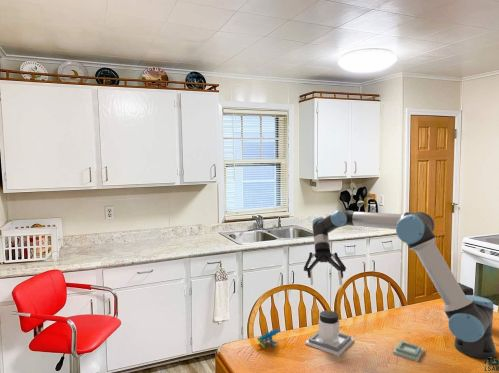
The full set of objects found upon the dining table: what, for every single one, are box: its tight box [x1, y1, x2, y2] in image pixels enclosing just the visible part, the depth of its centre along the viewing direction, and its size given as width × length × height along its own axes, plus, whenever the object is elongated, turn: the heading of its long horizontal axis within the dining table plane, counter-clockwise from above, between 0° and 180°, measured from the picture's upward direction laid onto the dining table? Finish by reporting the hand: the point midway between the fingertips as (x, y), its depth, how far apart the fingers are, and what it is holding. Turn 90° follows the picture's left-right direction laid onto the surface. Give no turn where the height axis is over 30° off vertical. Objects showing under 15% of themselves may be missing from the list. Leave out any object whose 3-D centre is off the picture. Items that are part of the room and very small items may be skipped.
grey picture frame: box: [305, 331, 355, 357], centre depth 162 cm, size 16×16×2 cm
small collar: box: [392, 340, 425, 362], centre depth 154 cm, size 10×10×2 cm
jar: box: [317, 310, 340, 345], centre depth 162 cm, size 9×8×12 cm
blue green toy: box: [256, 328, 280, 349], centre depth 160 cm, size 11×6×10 cm
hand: (326, 284), depth 171 cm, fingers open, 13 cm apart
